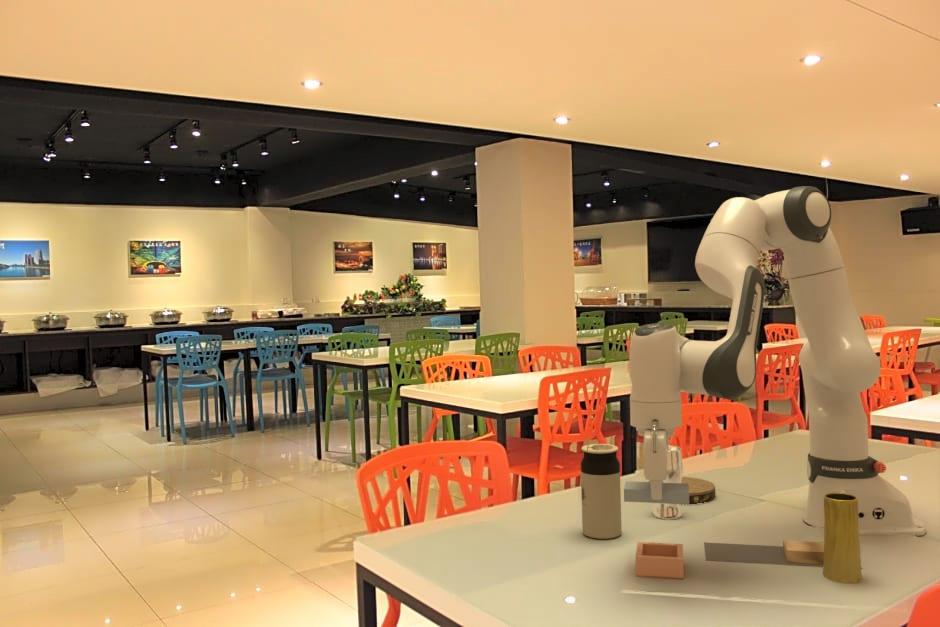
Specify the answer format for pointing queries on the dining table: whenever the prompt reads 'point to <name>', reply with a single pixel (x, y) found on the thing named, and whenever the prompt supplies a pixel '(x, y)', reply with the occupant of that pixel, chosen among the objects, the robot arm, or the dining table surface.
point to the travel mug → (601, 491)
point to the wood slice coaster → (699, 490)
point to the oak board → (803, 552)
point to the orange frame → (659, 560)
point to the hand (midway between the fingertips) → (657, 493)
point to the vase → (841, 538)
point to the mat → (748, 554)
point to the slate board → (670, 493)
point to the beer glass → (672, 477)
